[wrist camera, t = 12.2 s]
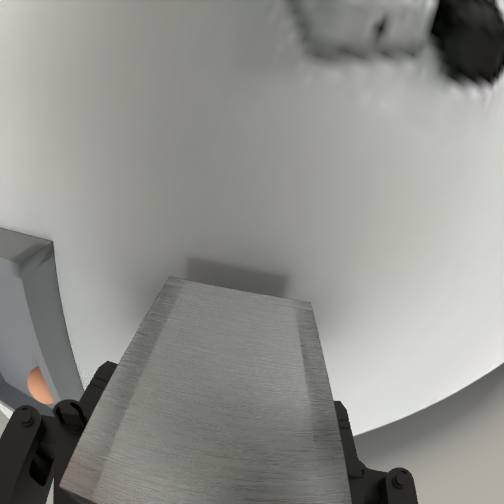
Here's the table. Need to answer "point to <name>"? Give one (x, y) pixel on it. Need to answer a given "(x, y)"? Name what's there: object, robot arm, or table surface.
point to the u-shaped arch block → (215, 408)
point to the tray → (32, 325)
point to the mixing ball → (39, 387)
